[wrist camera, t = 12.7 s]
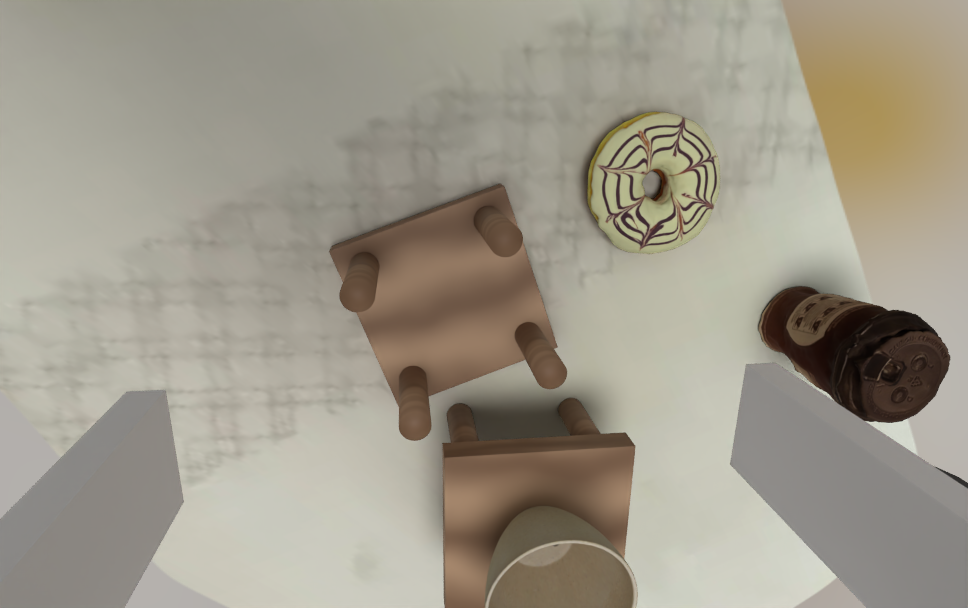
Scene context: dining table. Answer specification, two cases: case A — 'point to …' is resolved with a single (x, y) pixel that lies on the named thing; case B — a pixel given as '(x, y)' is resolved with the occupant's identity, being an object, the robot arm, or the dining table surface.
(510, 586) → the flower pot
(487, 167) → the dining table surface
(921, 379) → the coffee cup
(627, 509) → the stool
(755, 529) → the dining table surface
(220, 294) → the dining table surface
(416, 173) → the dining table surface
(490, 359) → the upturned stool
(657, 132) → the decorated donut
